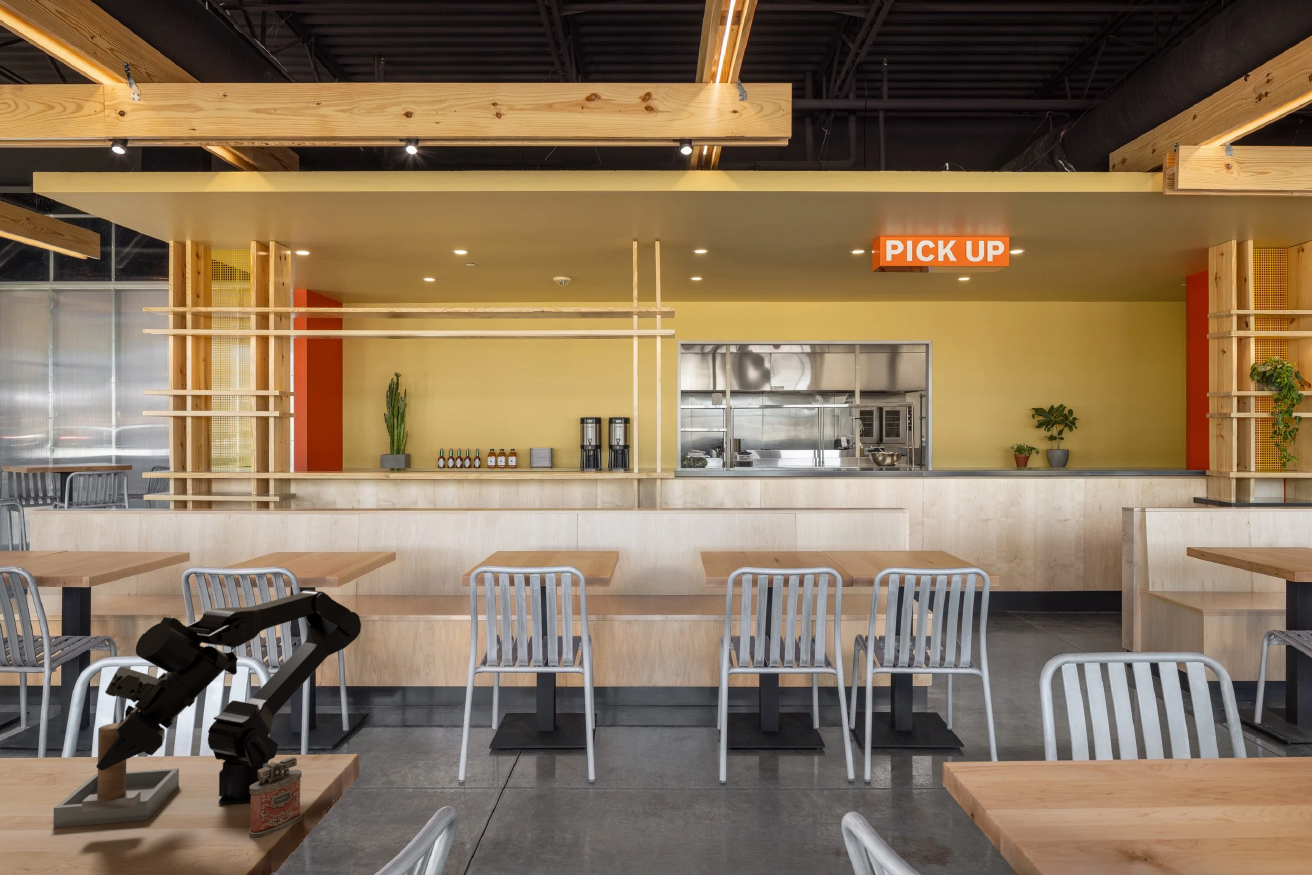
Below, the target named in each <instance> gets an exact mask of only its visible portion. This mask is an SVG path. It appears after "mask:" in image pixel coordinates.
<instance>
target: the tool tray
mask: <svg viewBox="0 0 1312 875" xmlns="http://www.w3.org/2000/svg"><path fill="white" fill-rule="evenodd" d="M179 779H180V768H177V767H176V768H166V769H165V768H164V769H163V768H162V769H149V770H148V769H147V770H136V771H135V770H134V771H126V792H133V791H141V799H140V802H139V803H138V804H137V805H136V806H135V807H134V808H122V809H109V810H96V811H83V812H82V801H83V800H84V799H85V798H87V797H88V796H89V795H93V794H97V784H98V773H94V774H93V775H92V776H91V777H90V778H88V779H87V780H86V781H84V782H83V784H81V785H80V786H79V787H78V788H76V789H75V790H74V791H73V792H71V793H70V794H69V795H68V796H67V797H65V798H64V799H62V801H61V802H59V803H58V804H57V805H56V806H54V807H53V822H52V823H53V828H65V827H77V826H78V827H79V826H89V825H102V824H114V823H116V824H117V823H128V822H139V821H147V820H148V819H150V818H151V816H152V815H154V813H155V812H156V810H158V809H159V807H160V806H162V804H163V803H164V802H165V801H166V800H167V799H168V798H169V797H170V795H172V794H173V792H175V790H176V789H178V787H179V785H180V782H179V781H180V780H179Z"/></svg>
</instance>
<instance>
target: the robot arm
mask: <svg viewBox="0 0 1312 875" xmlns="http://www.w3.org/2000/svg"><path fill="white" fill-rule="evenodd" d="M302 618H304V620H305V623H306V624H308V625H309V627H308V629H307V633H306V638H305V641H304V642H303V643H302V644H301V645H300V647H298V648H297V649H296V651H295V652H294V653H293V654H292V655H291V656H290V657H289V658H288V659H287V660H286V661H285V662H284V663H283V664H282V665H281V666H280V668H278V670H277V671H276V672H275V673H274V674H273V675H272V676H271V677H270V678H269V679H268V681H266V682H265V683H264V685H262V686H261V687H260V689H259V690H258V691H257V692H256V693H255V694H253V696H251V698H250V699H249V700H247V701H240V700H234V699H233V700H231V701H230V702H228V704H227V705H226V707H225V708H224V709H223V710H222V711H221V712H220V713H219V714H218V715H216V716H214V717H213V720H215V721H214V722H213V723H212V724H211V725H210V727H209V728H208V730H207V731H208V732H207V733H208V735H207V744H208V747H209V749H210V750H211V751H212V752H213V755H214V757H215V759H216V760H218V761H219V760H221V761H223V762H222V769H221V770H220V771H219V773H218V783H219V784H218V796H219V797H220V798H219V800H218V805H228V804H229V805H231V804H241V803H242V804H243V803H251V793H250V785H252V784H254V783H256V782H258V781H259V778H258V770H260V769H262V768H265V767H267V765H268V764H269V761H271V760H272V759H274V758H276V754H277V751H278V747H279V744H278V743H277V742H276V741H274V740H273V739H272V738H270V736H269V735H270V734H271V731H272V727H273V722H274V717H275V716H276V715H277V713H278V712H279V711H280V710H281V709H282V708H283V707H284V706H285V705H286V704H287V703H288V701H289V700H290V699H291V698H292V696H294V694H295V693H296V692H297V691H298V690H299V689H300V688H301V686H303V685H304V683H305V682H306V681H307V680H308V679H309V678H310V676H312V674H313V673H314V672H315V671H316V670H317V669H318V667H320V665H321V664H322V663H324V661H325V660H326V659H327V658H328V657H330V656H331V655H334V654H336V653H338V652H340V651H342V650H344V649H346V648H347V647H348V646H349V645H350V644H352V643H353V642H354V641H355V640H357V638H358V637H359V635H360V634H361V629H362V623H361V622H362V621H361V619H360V616H359V614H358V613H357V612H354V611H351V609H349V608H348V607H346V606H345V605H342V604H341V603H339V602H337V601H336V600H334V599H333V598H332V597H331V596H330V595H329V594H327V593H325V592H324V591H321V590H320V591H319V590H309V589H307V590H306V589H305V590H303V591H300V592H299V593H296V594H293V595H289V596H285V597H281V598H277V599H274V600H270V601H266V602H263V603H260V604H255V605H252V606H247V607H246V606H243V607H218V608H216V607H215V608H211V609H209V610H207V611H205V612H203V614H202V616H201V618H199V619H198V620H196V621H193V622H192V623H190V624H188V625H184V624H183V623H182V622H181V620H179V619H178V618H176V617H174V616H164V617H163V618H162V620H161V621H160V622H159V623H157V624H155V625H153V626H151V627H150V628H149V629H147V630H146V631H145V632H144V633H142V634H141V635H140V637H139V639H138V641H137V643H136V646H135V654H136V655H137V657H139V658H141V659H143V660H144V661H146V662H148V663H150V664H152V665H153V666H156V667H158V668H159V669H161V670H163V671H164V672H163V673H161V675H160V676H159V677H155V676H152V675H149V674H147V673H145V672H142V671H141V672H140V671H137V670H135V669H131V668H127V667H121V666H120V667H118V668H117V670H116V672H115V673H114V674H113V676H112V679H111V680H110V682H109V683H108V685H107V688H106V689H105V691H104V692H105V694H106V695H108V696H111V697H118V698H123V699H126V700H130V701H131V702H133V703H135V704H134V707H133V706H131V705H130V704H128V705H127V707H126V708H125V712H124V714H125V715H124V717H125V718H124V719H120V720H119V722H118V723H119V725H118V728H117V732H118V733H119V736H118V738H117V739H116V740H115V742H114V743H113V744H112V746H111V747H110V748H109V749H108V751H107V752H106V753H105V755H104V756H103V757H102V759H101V760H100V761H99V763H98V762H97V764H96V768H97V770H98V769H100V770H104V769H107V768H109V767H111V766H113V765H115V764H117V763H120V762H122V761H124V760H126V761H127V760H129V759H131V758H133V757H135V756H137V755H139V754H142V753H145V754H146V755H149V756H153V755H155V753H156V752H157V751H158V750H159V749H160V748H161V747H162V746H163V743H164V740H165V736H166V735H165V734H166V733H165V731H166V730H165V729H169V728H170V727H171V726H172V725H173V724H174V720H175V719H176V718H177V717H178V716H179V715H180V714H181V713H182V712H183V711H184V710H185V709H186V708H190V707H192V705H193V704H194V703H195V702H196V699H197V698H198V696H199V695H200V694H202V692H204V690H205V689H206V688H208V686H209V685H211V683H212V682H213V681H214V680H216V679H217V678H218V677H219V676H220V675H221V674H222V672H224V671H226V672H227V673H229V674H231V675H232V676H235V675H236V674H237V673H238V667H237V664H238V660H239V659H238V657H237V656H236V654H235V653H234V651H230V652H223V651H221V650H219V649H217V648H216V647H214V646H210V645H215V646H220V647H228V648H229V647H230V648H237V647H240V646H242V645H244V644H246V643H248V642H250V641H252V640H253V639H255V638H256V637H257V636H258V635H259V633H260V632H263V631H264V630H266V629H269V628H273V627H276V626H280V625H283V624H286V623H289V622H292V621H295V620H299V619H302ZM201 644H207V646H202V645H201ZM162 726H163V727H162Z"/></svg>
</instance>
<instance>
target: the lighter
mask: <svg viewBox="0 0 1312 875" xmlns="http://www.w3.org/2000/svg"><path fill="white" fill-rule="evenodd" d="M297 765H298V759H297V757H296V756H290V757H288V758H287V757H286V758H284V759H282V760H280V761H279V762H275V761H271V762H268V765H267V767H265V768H262V769H260V770H258V778H259V781H258V782H256V783H254V784H252V785H250V793H251V802H250V829H248V830H249V831H248V837H249V838H250V839H252V840H259V839H262V838H266V837H269V836H271V835H274V834H277V833H279V832H281V831H284V830H286V829H289V828H290V827H292V826H294V825H296V824H297V823H300V821H302V813H301V778H302V773H303V772H302V770H300V769H290V768H294V767H296V766H297Z"/></svg>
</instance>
